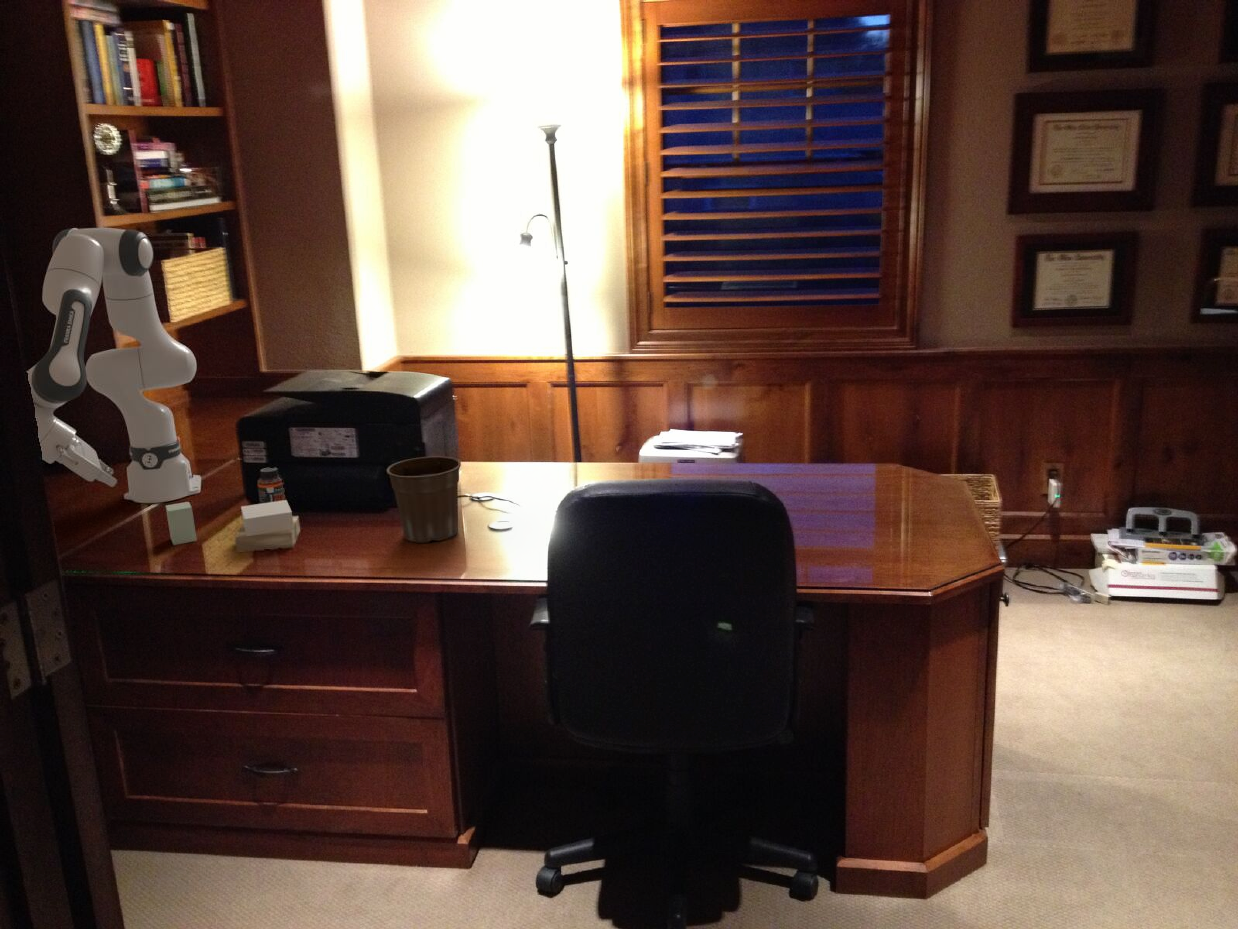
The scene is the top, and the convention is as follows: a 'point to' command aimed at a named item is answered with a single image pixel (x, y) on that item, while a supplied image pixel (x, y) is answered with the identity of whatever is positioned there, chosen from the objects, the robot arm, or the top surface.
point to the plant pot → (427, 497)
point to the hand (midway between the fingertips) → (113, 478)
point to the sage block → (181, 523)
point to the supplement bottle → (270, 486)
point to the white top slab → (267, 518)
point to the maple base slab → (268, 539)
